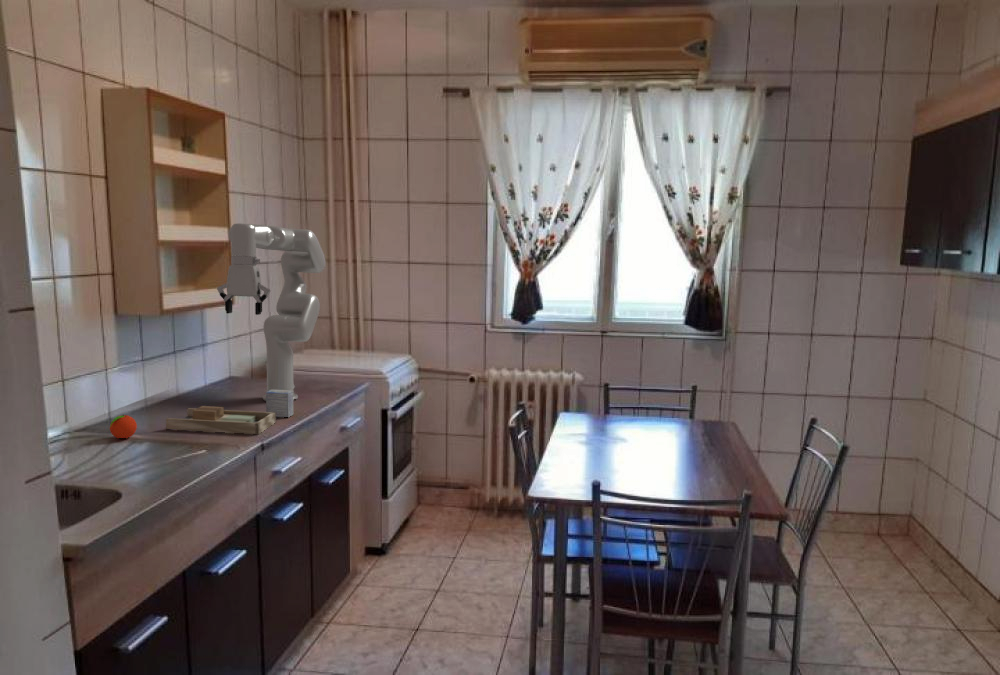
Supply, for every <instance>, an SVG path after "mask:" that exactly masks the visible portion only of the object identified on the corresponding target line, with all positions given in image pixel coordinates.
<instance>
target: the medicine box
mask: <svg viewBox="0 0 1000 675" xmlns="http://www.w3.org/2000/svg"><path fill="white" fill-rule="evenodd" d="M293 393H294V390H293V391H290V390H269V391H268V392H267V391H266V392H265V394H266V401H265V402H266V405H265V408H266V410H265V412H275V413H276V418H284V417H288V418H291V417H292V416H293V415H294V400H293ZM290 416H291V417H290ZM288 418H287V419H288Z"/></svg>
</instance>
